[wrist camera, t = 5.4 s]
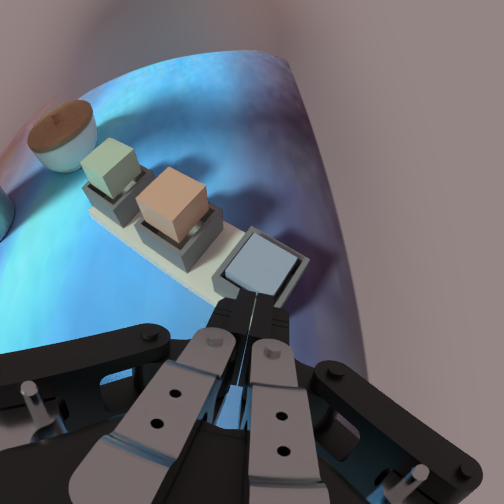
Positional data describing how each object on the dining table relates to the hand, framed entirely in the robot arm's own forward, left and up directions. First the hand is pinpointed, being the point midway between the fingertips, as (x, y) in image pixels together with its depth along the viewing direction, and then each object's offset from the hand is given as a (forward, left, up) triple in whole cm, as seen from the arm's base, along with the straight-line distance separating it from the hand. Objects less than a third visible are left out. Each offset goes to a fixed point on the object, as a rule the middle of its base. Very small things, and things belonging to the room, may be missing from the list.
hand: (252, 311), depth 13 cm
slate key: (-5, +5, -13) cm, 15 cm away
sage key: (-23, -1, -10) cm, 25 cm away
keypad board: (-14, +2, -16) cm, 21 cm away
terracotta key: (-14, +2, -10) cm, 17 cm away
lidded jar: (-38, -5, -16) cm, 41 cm away
